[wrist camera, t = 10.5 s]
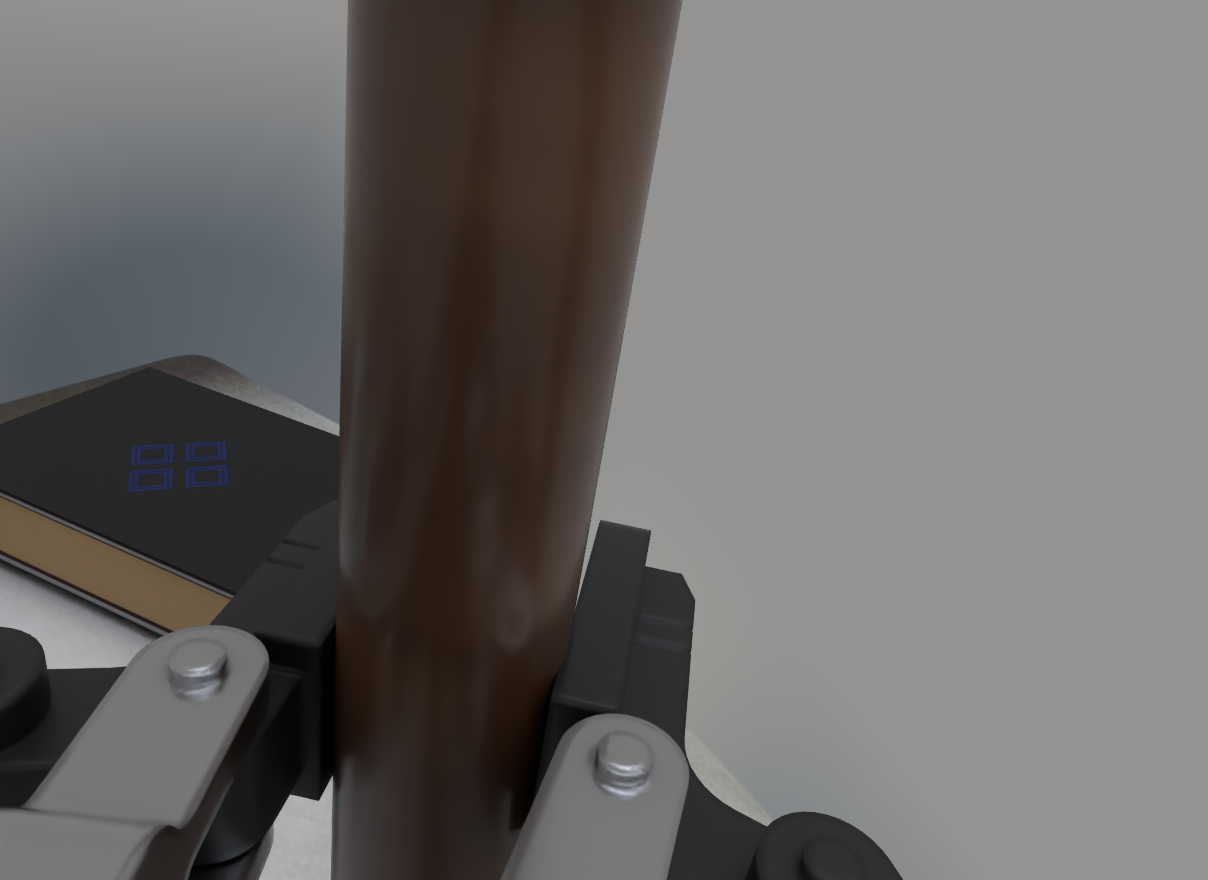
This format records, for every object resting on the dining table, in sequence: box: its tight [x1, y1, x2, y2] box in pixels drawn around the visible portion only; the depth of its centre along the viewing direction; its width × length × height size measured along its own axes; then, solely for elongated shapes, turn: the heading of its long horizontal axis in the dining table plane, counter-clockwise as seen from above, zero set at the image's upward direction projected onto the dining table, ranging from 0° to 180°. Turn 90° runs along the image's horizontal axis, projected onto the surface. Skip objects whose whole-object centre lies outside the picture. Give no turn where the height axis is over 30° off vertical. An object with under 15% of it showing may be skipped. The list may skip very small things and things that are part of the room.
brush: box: [331, 0, 682, 880], centre depth 10 cm, size 4×4×28 cm
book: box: [0, 367, 340, 636], centre depth 59 cm, size 17×25×7 cm
